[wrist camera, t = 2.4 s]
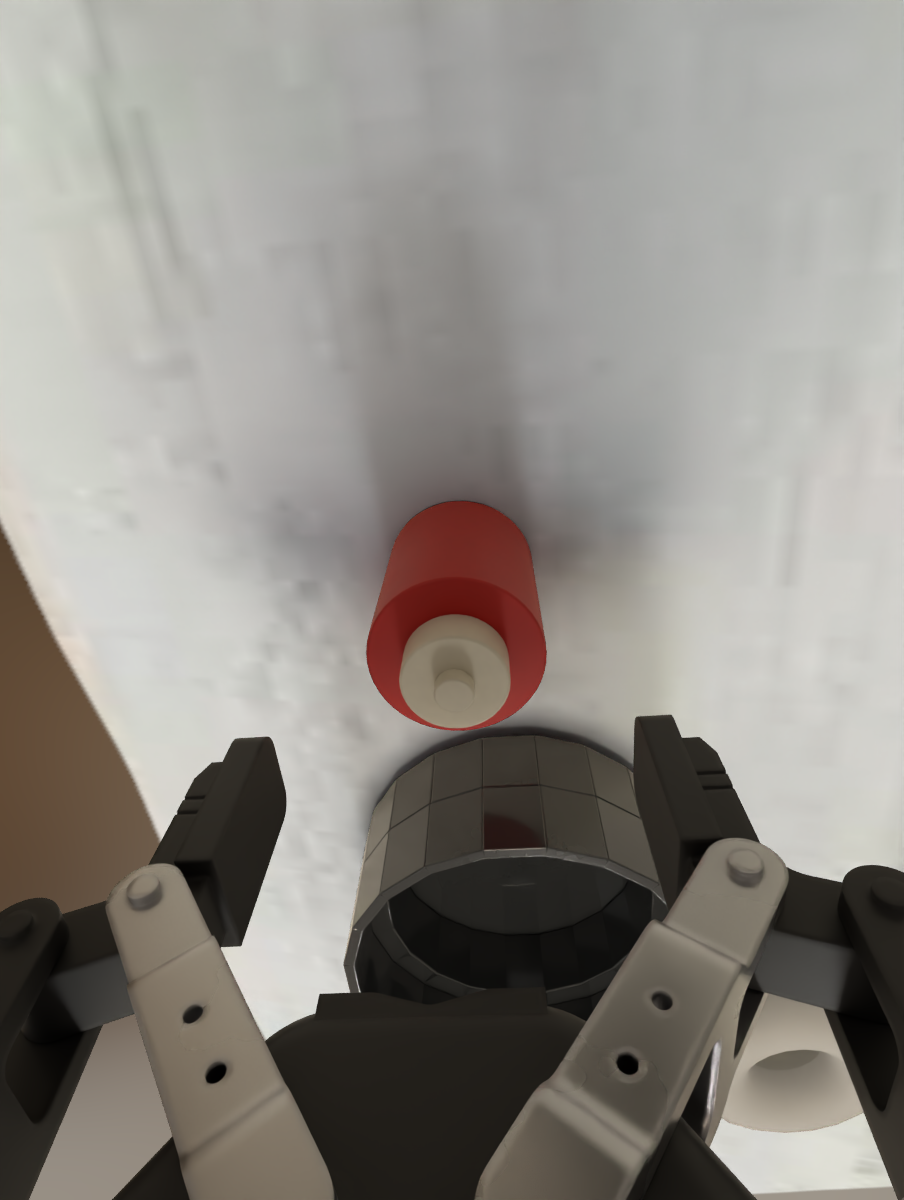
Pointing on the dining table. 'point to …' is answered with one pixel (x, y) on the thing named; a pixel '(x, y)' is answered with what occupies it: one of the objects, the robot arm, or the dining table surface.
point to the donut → (791, 1073)
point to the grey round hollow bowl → (503, 876)
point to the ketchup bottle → (458, 620)
